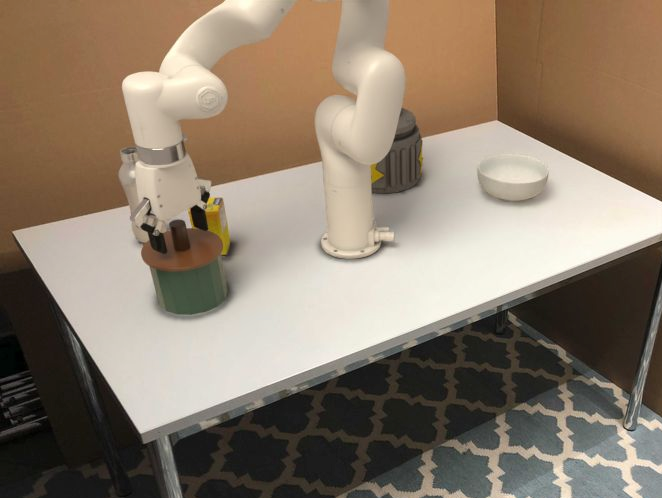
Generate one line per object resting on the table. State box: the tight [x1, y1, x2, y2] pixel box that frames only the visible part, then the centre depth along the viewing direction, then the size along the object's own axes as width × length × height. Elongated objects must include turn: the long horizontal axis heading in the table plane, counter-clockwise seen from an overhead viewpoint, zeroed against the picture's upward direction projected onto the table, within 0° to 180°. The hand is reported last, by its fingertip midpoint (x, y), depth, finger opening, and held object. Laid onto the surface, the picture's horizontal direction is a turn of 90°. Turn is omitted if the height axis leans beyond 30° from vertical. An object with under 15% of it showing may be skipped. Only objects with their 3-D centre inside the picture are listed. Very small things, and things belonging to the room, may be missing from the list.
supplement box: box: [187, 196, 232, 258], centre depth 156 cm, size 6×6×11 cm
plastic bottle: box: [117, 146, 167, 244], centre depth 156 cm, size 6×7×20 cm
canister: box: [148, 254, 229, 316], centre depth 143 cm, size 13×13×10 cm
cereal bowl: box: [476, 153, 550, 203], centre depth 183 cm, size 17×17×7 cm
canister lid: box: [140, 219, 223, 271], centre depth 138 cm, size 14×14×6 cm
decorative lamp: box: [371, 107, 424, 194], centre depth 180 cm, size 19×19×30 cm
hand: (181, 239), depth 138 cm, fingers open, 9 cm apart
